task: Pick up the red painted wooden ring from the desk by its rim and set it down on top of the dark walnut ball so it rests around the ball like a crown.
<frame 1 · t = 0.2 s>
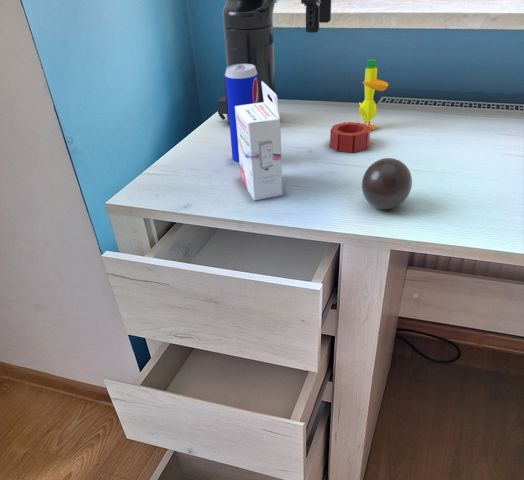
hand: (318, 27, 92), 17 cm above the table, tool pointing down, fingers open, 8 cm apart
ring: (349, 145, 95), on the table
toy figure: (369, 130, 101), on the table
ball: (384, 206, 76), on the table
beverage can: (247, 162, 92), on the table
ink cartridge box: (260, 189, 83), on the table
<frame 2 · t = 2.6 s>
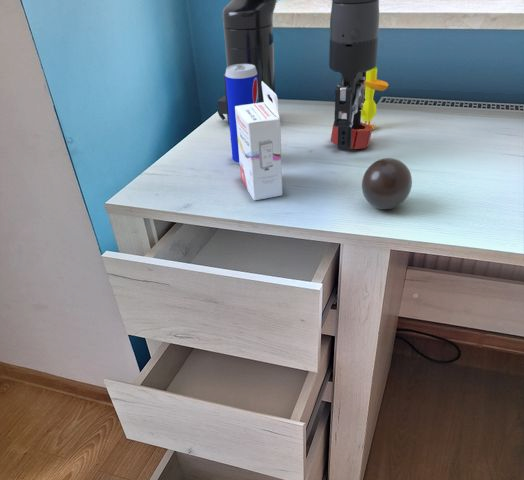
hand: (349, 140, 92), 2 cm above the table, tool pointing down, fingers open, 8 cm apart
ring: (349, 142, 95), on the table, tilted 9°
everything else where it was.
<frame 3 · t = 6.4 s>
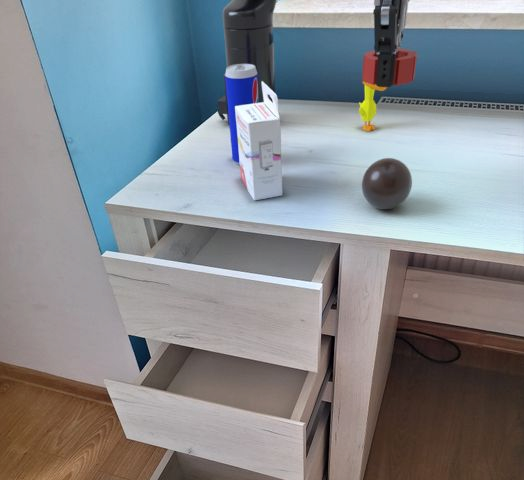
hand: (385, 83, 69), 16 cm above the table, tool pointing down, fingers closed on ring
ring: (388, 78, 71), point 16 cm above the table, touching gripper
everything else where it was.
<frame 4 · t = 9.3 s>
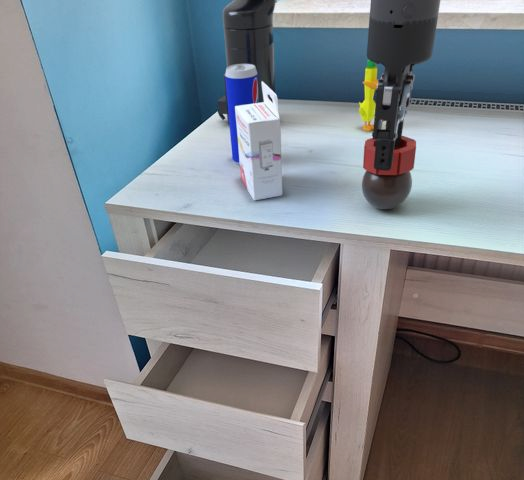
hand: (387, 157, 69), 8 cm above the table, tool pointing down, fingers open, 7 cm apart
ring: (388, 165, 72), point 6 cm above the table, touching ball, gripper
everything else where it was.
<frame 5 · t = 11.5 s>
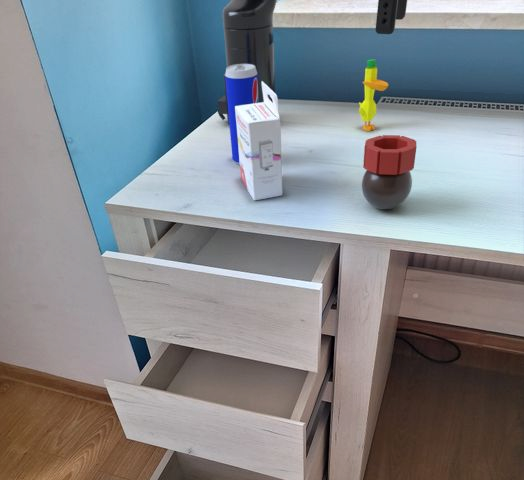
hand: (390, 25, 66), 22 cm above the table, tool pointing down, fingers open, 8 cm apart
ring: (388, 165, 72), point 6 cm above the table, touching ball
everything else where it was.
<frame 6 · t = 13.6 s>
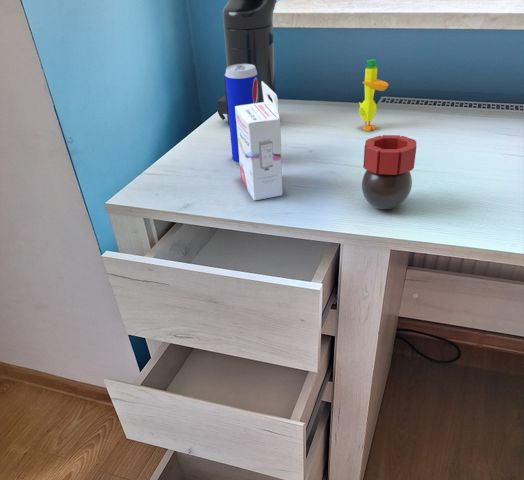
nothing on the table moved.
at the end: ring 0.1 cm from the ball (horizontally); ring point 6.2 cm above the table; ring tilted 2° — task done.
